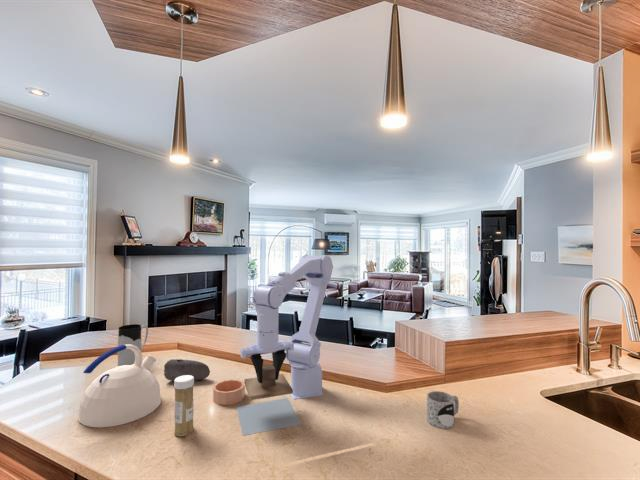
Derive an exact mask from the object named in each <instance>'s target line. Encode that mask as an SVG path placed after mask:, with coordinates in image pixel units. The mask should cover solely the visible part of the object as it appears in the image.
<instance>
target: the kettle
mask: <svg viewBox="0 0 640 480" xmlns="http://www.w3.org/2000/svg"><path fill="white" fill-rule="evenodd" d="M124 349H131V350H132V351H133V352H134V354H135V362H134V364H132V365H122V366H118V367H117V366H115V367H114V368H110V369H108V370H105V371H104V372H102V373H101V374H99V376H98V377H96V378H95V379H94V380H92V382H91V383H90V384H89V386H88V387H87V388H86V389H85V392H84V394H83V396H82V398H81V400H80V402H79V409H78V410H79V412H78V417H77V419H78V421H79V423H80V424H82V425H83V426H85V427H90V428H101V429H103V428H111V427H116V426H117V427H118V426H121V425H125V424H129V423H132V422H135V421H137V420H140V419H142V418H144V417H147V416H149V414H151V413H154V411H155V410H157V409H158V407H160V406H161V403H162V397H161V388H160V387H161V386H160V383H159V381H158V379H157V377H156V376H155V375H154V374H153V373H151V372H150V370H151V368H152V367H153V365H154V363H155V362H157V358H156V357H154V356H153V355H152V354H145V355H146V357H144V359H143V353H142V350H141V351H140V350H139V348H138V347H136V346H134V345H131V344H127V345H121V346H118V345H117V346H116V347H114V348H112V349H110V350H108V351H106V352H104V353H103V354H100V356H98V357H97V358H96V359H94V360H93V361H92V362H91V363H89V365H88V366H87V367H86V368H85V369H84V371H83V373H84V374H92V373H93V371H94V370H95V369H96V368H97V367H98V366H99V365H100V364H101V363H102V362H104V361H105V360H107V359H108V358H110V357H111V356H113V355H115V354H118V352H119V351H122V350H124Z"/></svg>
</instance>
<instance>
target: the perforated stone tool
mask: <svg viewBox="0 0 640 480" xmlns="http://www.w3.org/2000/svg"><path fill="white" fill-rule="evenodd" d="M163 367H164V368H163V372H164V374H163V376H164V378H165V379H166V380H168V381H173V382H174V380H175V379H176V378H177V377H179V376H183V375H191V376H193V377H194V382H195V381H200V380H205V379H206V378H208V377H209V375H210V374H211V370H210V368H209V366H208V365H207V364H206V363H203V362H201V361H197V360H192V359H190V360H189V359H182V358H181V359H179V358H177V359H176V358H175V359H169V360H168V361H166V362H165V364H164V365H163Z"/></svg>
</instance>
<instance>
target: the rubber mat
mask: <svg viewBox="0 0 640 480" xmlns="http://www.w3.org/2000/svg"><path fill="white" fill-rule="evenodd" d="M236 411H237V416H238V420H239V425H240V429H241V433H242V436H249V435H250V436H251V435H254V434H258V433H259V434H260V433H265V432H268V431H273V430H278V429H286V428H290V427H294V426H299V425H303V422H302V421H301V419H300V418H299V416H298V414H297V412H296V411H295V409H294V407H293V406H292V404H291V402H290V400H289V399H288V397H287V398H282V399H281V398H280V399H275V400H269V401H268V400H267V401H263V402H262V401H261V402H257V403H251V404H244V405H238V406H236Z"/></svg>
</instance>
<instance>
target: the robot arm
mask: <svg viewBox="0 0 640 480" xmlns="http://www.w3.org/2000/svg"><path fill="white" fill-rule="evenodd" d="M333 268H334V264H333V260H332V258H331V256H330V255H307V254H303V256H302V257H299V259H298V262H297V264H296V265H294V267H293V268H292V269H290V270H289V271H288V272H287V271H280V272H278V274H277V276H276V277H274V278H273V279H272V280H269V281H268V283H267V284H266V285H263V284H262V285H259V286H258V287H257V288H256V289H255V291H253V295H252V297H251V298H252V302H253V304H254V306H255V312H256V314H257V315H256V319H257V321H256V324H257V325H256V330H257V333H256V335H257V337H256V345H253V346H249V347H245V348H239V349H240V358H241V359H243V360H244V359H246V358H250V360H251V362H252V365H253V368H254V371H255V374H256V378H257V381H258V382H259V383H262V367H263V366H264V365H263V364H264V359H263V358H262V357H263V356H262V355H266V354H267V355H268V354H271V356H272V357H271V358H272V365H273V366H274V367H275V369H276V380H278V376H279V374H280V371H281V369H282V365H283V363H284V361H285V359H286V361H288V365H290V386H291V388H292V389H293V393H292V394H289V395H290V396H291V398H292V400H300V399H305V398H311V397H313V398H314V397H317V396H318V397H319V396H323V395H324V393H323V371H322V366H321V364H320V363H319V361H320V356H321V342H320V340H319V338H317V336H316V332H317V327H318V324H319V320H320V316H321V311H322V308H323V303H324V299H325V295H326V291H327V286H328V284H329V283H330V282H331V277H332V273H333ZM302 277H305V280H306V282H308V283H310V289H309V293H308V296H307V300H306V304H305V308H304V310H303V315H302V319H301V322H300V326H299V329H298V330H299V331H297V332H296V333H294V334H293V335H291V337H290V340H289V341H285V342H284V341H281V342H280V341H279V307H281V306H282V305H283V301H284V299H285V297H286V295H287V294H289V293H290V292H291V291H292V290H294V288H295V287H296V284H297V283H296V282H297V281H299V280H301V278H302Z"/></svg>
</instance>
